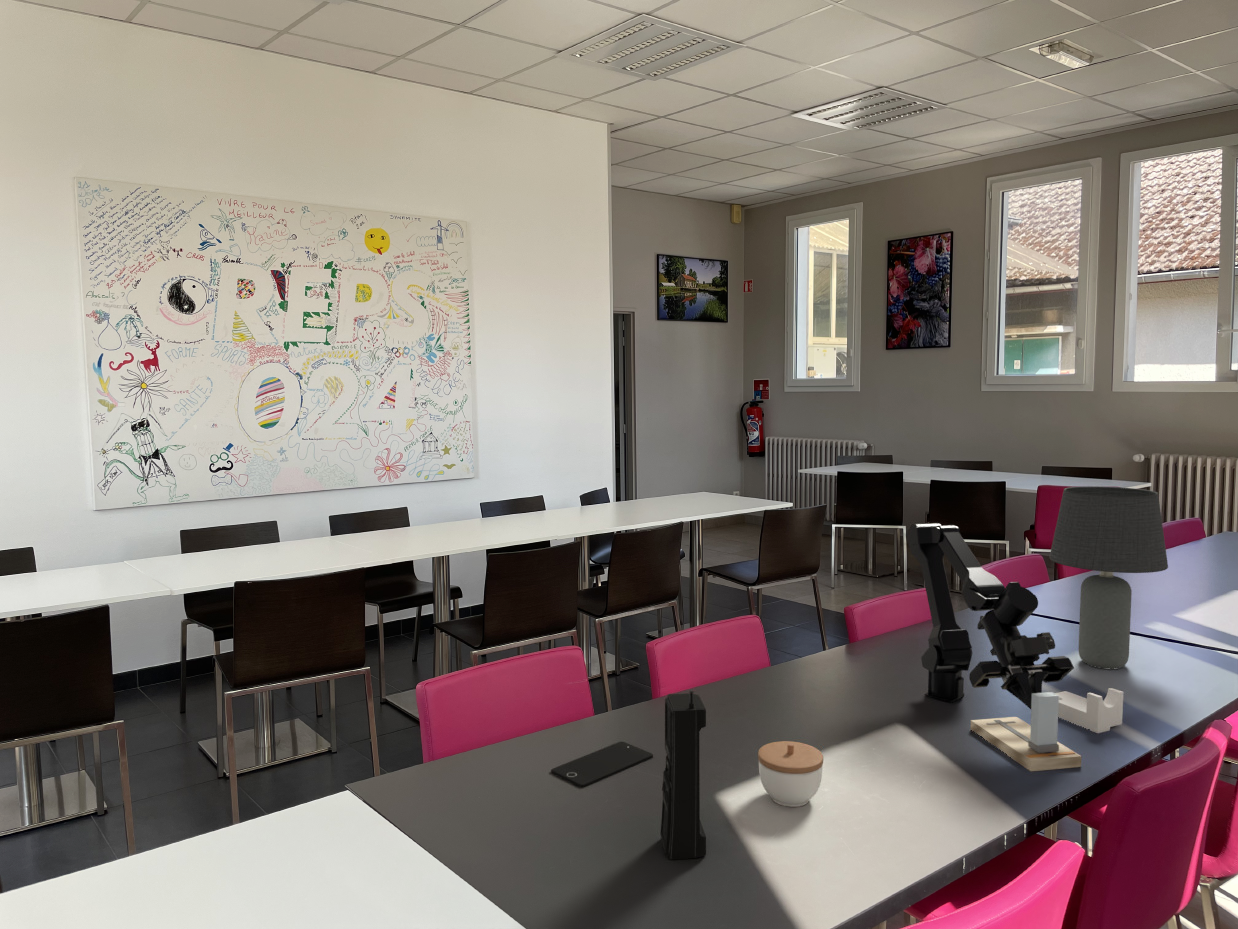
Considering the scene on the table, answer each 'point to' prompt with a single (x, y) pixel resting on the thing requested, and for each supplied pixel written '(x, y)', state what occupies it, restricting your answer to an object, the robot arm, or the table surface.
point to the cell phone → (601, 764)
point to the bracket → (1092, 709)
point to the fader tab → (1044, 722)
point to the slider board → (1023, 744)
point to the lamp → (1108, 561)
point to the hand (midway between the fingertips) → (1040, 713)
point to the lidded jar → (790, 772)
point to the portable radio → (682, 777)
